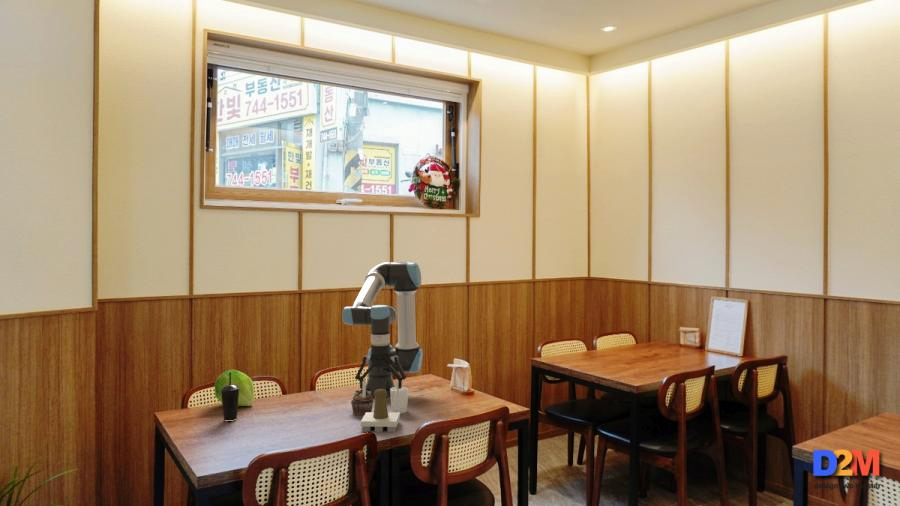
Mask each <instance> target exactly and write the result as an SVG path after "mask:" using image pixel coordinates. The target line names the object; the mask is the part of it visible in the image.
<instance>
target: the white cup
mask: <svg viewBox="0 0 900 506" xmlns="http://www.w3.org/2000/svg"><path fill="white" fill-rule="evenodd" d="M390 394H391V396H390V406H391V407H390V408H391V412H400V415H401V414H404V413H407V412H408V406H409V405H408V404H409V402H408V401H409V387H406V386H402V387H401V389H399V397H398V398H397V392H396V386H395V387H393V388H391V389H390Z"/></svg>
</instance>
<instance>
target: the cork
mask: <svg viewBox="0 0 900 506" xmlns="http://www.w3.org/2000/svg"><path fill="white" fill-rule="evenodd" d="M374 396H375V397H374V399H375V400H374V409H373V412H374V415H373V418H375V419H385V418H387V417H388V412H389V411H388V404H387V403H388V402H387V397H388V396H387V391H386V390H385V389H377V390H375V392H374Z"/></svg>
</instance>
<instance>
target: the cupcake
mask: <svg viewBox="0 0 900 506" xmlns="http://www.w3.org/2000/svg"><path fill="white" fill-rule="evenodd" d="M373 398H374V397H372V396H371V392H370V391H369V390H368V391H366V396H365V397H363V389H359V390H358V389H357V390H355V392H353V396H352V400H351V402H350V404H351V408H352V414H353V415H356V416H364V415H365V413H366V412H373V405H374V399H373Z"/></svg>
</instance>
